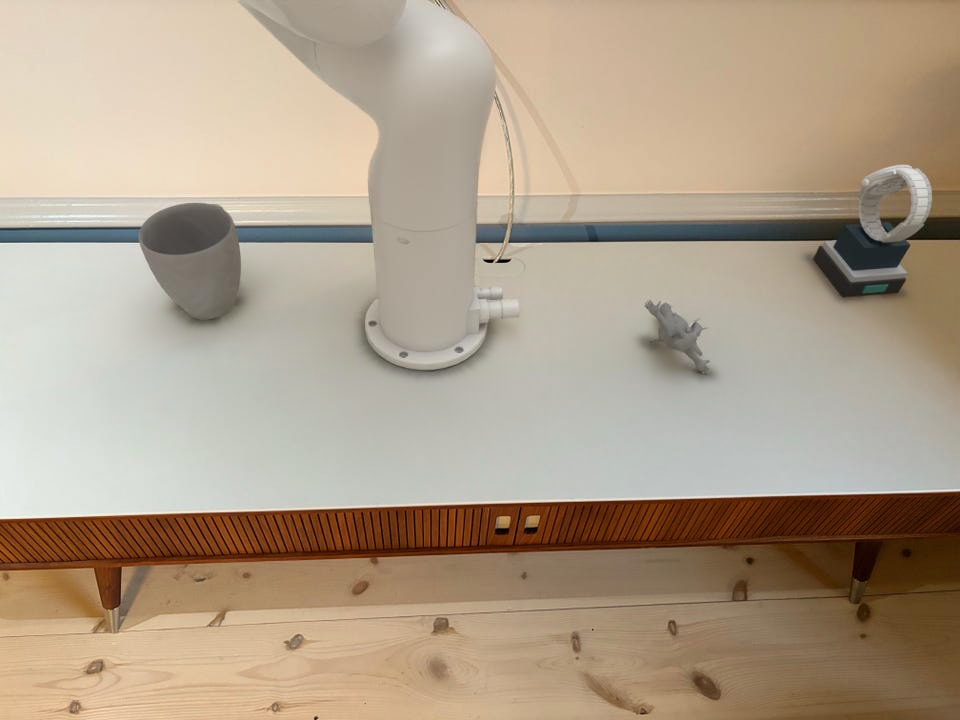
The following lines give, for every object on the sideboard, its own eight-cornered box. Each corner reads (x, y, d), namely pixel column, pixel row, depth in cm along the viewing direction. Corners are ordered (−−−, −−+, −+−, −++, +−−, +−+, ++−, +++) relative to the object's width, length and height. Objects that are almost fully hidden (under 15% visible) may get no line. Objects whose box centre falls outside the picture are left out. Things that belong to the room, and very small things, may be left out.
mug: (238, 334, 71) (216, 259, 64) (152, 327, 71) (121, 252, 64) (271, 261, 79) (254, 187, 72) (194, 255, 79) (170, 181, 72)
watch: (867, 234, 83) (912, 150, 75) (906, 277, 77) (959, 191, 69) (824, 237, 82) (865, 152, 74) (860, 280, 77) (908, 194, 69)
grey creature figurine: (720, 329, 75) (738, 366, 66) (674, 361, 77) (686, 401, 69) (663, 261, 72) (675, 291, 64) (617, 296, 74) (622, 329, 66)
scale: (865, 255, 85) (876, 236, 82) (899, 293, 80) (911, 274, 78) (812, 259, 84) (822, 240, 82) (843, 298, 79) (853, 279, 77)
